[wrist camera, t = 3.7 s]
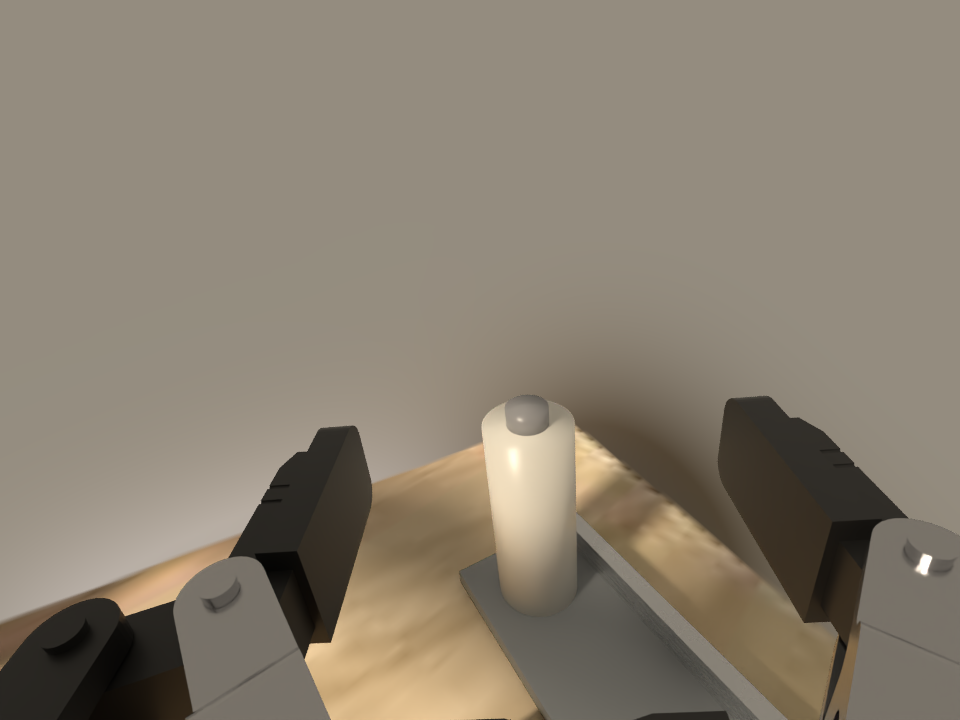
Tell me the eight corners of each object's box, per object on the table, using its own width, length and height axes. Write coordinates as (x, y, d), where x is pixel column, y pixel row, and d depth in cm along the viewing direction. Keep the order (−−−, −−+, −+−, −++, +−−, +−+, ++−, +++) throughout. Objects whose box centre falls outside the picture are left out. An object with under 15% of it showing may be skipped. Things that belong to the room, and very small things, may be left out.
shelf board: (461, 582, 40) (459, 571, 39) (567, 528, 43) (566, 517, 43) (829, 1186, 17) (838, 1181, 16) (984, 964, 21) (995, 954, 20)
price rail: (552, 524, 42) (552, 506, 41) (567, 517, 43) (566, 499, 42) (976, 980, 20) (995, 963, 19) (995, 953, 20) (1015, 934, 19)
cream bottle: (575, 621, 34) (571, 436, 28) (493, 611, 36) (470, 432, 29) (579, 554, 39) (576, 382, 32) (506, 547, 41) (489, 380, 34)
